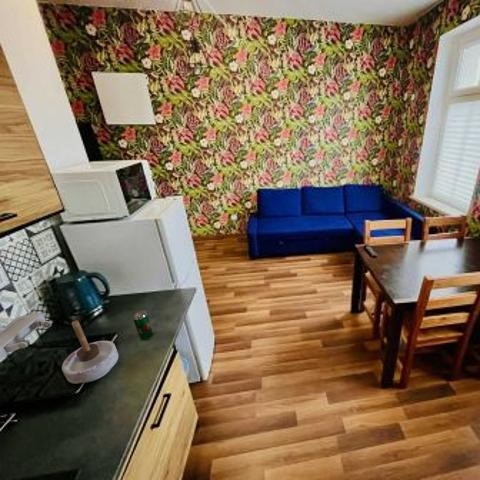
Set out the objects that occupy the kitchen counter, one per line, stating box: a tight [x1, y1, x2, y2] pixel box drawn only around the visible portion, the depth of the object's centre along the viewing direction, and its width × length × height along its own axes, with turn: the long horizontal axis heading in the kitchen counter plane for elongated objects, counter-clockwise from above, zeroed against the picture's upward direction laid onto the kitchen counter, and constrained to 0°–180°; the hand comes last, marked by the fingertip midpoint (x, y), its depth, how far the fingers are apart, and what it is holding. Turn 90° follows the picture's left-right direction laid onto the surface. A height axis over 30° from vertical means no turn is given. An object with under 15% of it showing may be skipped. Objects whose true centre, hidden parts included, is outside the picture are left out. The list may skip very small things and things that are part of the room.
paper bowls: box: [61, 340, 119, 385], centre depth 98 cm, size 15×15×8 cm
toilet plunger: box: [71, 319, 100, 362], centre depth 93 cm, size 6×6×15 cm
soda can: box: [132, 310, 154, 341], centre depth 114 cm, size 5×5×12 cm
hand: (39, 333), depth 89 cm, fingers open, 8 cm apart
